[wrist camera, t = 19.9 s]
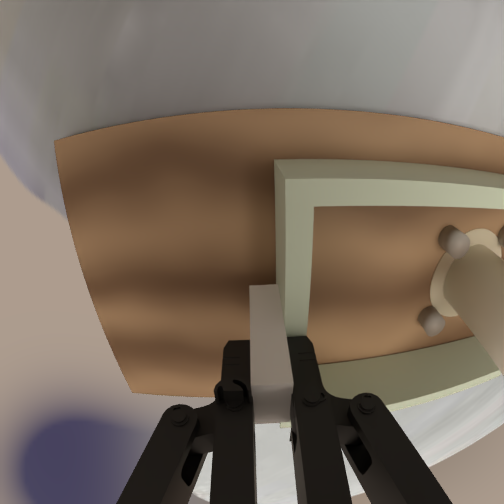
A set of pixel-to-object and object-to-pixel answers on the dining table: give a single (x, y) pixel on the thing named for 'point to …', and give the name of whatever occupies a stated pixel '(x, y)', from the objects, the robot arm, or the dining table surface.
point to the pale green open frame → (376, 194)
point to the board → (261, 236)
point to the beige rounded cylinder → (479, 297)
